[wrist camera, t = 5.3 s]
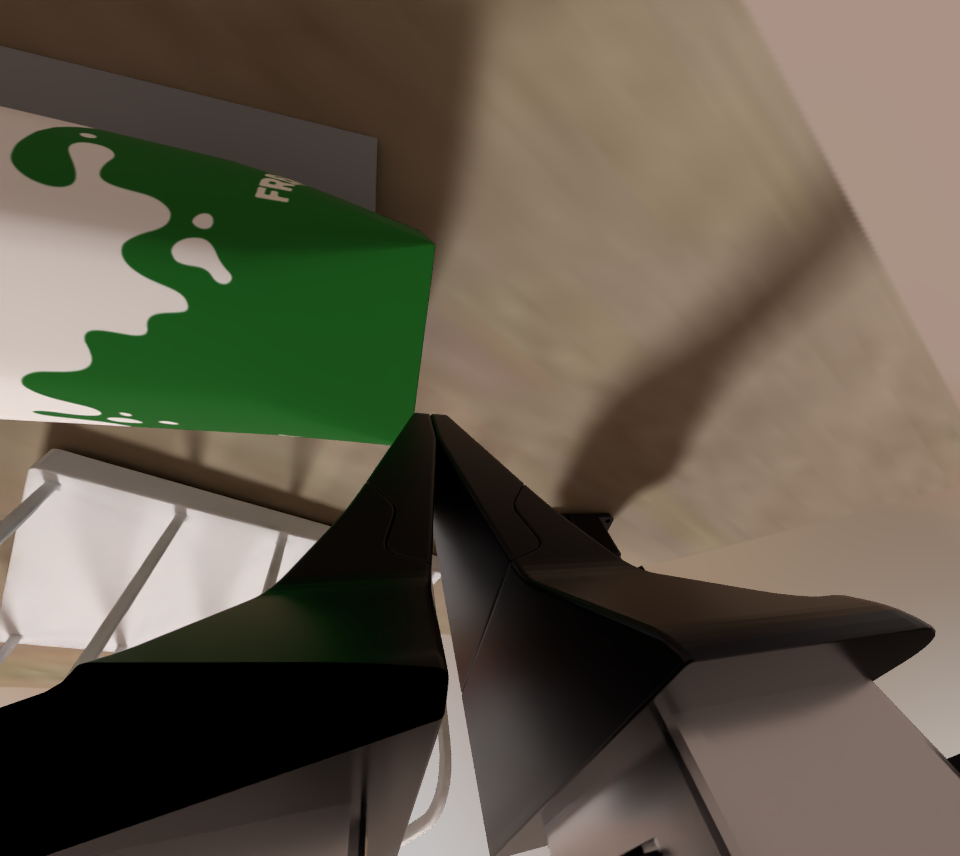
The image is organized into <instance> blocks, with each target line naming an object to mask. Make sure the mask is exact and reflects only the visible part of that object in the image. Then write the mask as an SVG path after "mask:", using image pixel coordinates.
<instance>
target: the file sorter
mask: <svg viewBox="0 0 960 856" xmlns="http://www.w3.org/2000/svg"><path fill="white" fill-rule="evenodd" d="M330 527H331V526H328V525H324V524H321V523H317V522H314V521H310V520H307V519H303V518H300V517H296V516H292V515H289V514H285V513H282V512H278V511H275V510H271V509H268V508H264V507H260V506H257V505H253V504H250V503H246V502H243V501H239V500H236V499H232V498H229V497H225V496H222V495H218V494H215V493H211V492H207V491H204V490H200V489H197V488H193V487H190V486H186V485H183V484H179V483H176V482H172V481H169V480H165V479H162V478H158V477H155V476H151V475H148V474H144V473H141V472H137V471H134V470H130V469H127V468H123V467H120V466H116V465H112V464H109V463H105V462H102V461H99V460H95V459H91V458H88V457H84V456H81V455H78V454H74V453H71V452H68V451H64V450H60V449H51V450H50V451H49V452H47V453H46V454H45V455H44V456H43V457H42V458H41V459H39V460H38V461H37V462H36V463H35V464H34V465H32V466H31V467H30V468H29V469H28V473H27V478H26V482H25V487H24V492H23V497H22V502H21V504H20V505H19V506H18V507H17V508H15V509H14V510H13V511H12V512H11V513H10V514H9V515H8V516H7V517H6V518H4V519H3V520H2V521H1V522H0V545H1V544H2V543H3V542H4V541H6V540H7V539H8V538H9V537H10V536H11V535H12V534H13V533H14V532H15V531H16V532H15V538H14V543H13V548H12V553H11V558H10V563H9V567H8V572H7V577H6V583H5V588H4V593H3V598H2V604H1V609H0V642H5V643H4V644H3V645H2V646H1V648H0V665H1V664H2V663H3V662H4V660H5V659H6V658H7V656H8V655H9V654H10V653H11V651H12V650H13V649H14V647H15V646H16V645H17V644H18V643H19V644H32V645H41V646H52V647H66V648H76V649H85V650H84V651H83V653H82V654H81V656H80V657H79V659H78V660H77V661H76V663H75V664H74V666H73V667H72V669H71V670H70V672H69V673H68V675H69V674H70V673H71V672H72V670H73V669H74V668H75V667H76V666H77V665H79V664H82V663H85V662H88V661H92V660H95V659H98V657H99V656H100V654H101V653H102V651H110V652H114V653H113V654H115V653H117V652H120V651H123V650H126V649H129V648H131V647H134V646H137V645H139V644H142V643H144V642H147V641H149V640H152V639H154V638H157V637H159V636H162V635H164V634H166V633H169V632H171V631H174V630H176V629H179V628H181V627H184V626H186V625H189V624H191V623H194V622H196V621H199V620H201V619H204V618H206V617H209V616H211V615H214V614H216V613H219V612H221V611H224V610H226V609H229V608H231V607H234V606H236V605H239V604H241V603H243V602H246V601H248V600H251V599H253V598H255V597H257V596H259V595H260V594H262V593H264V592H265V591H267V590H268V589H269V588H271V587H272V586H273V585H274V584H276V583H277V582H278V581H279V580H280V579H281V578H282V577H283V576H284V575H285V574H286V573H287V572H288V571H289V570H290V569H291V568H292V567H293V566H294V565H295V564H296V563H297V562H298V561H299V560H300V559H301V558H302V557H303V556H304V555H305V553H306V552H307V551H308V550H309V549H310V548H311V547H312V546H313V545H314V544H315V543H316V542H317V541H318V540H319V539H320V538H321V537H322V535H323V534H324V533H325V532H326V531H327V530H328V529H329V528H330ZM431 568H432V576H431V584H432V595H433V600H434V605H435V598H434V589H433V585H434V584H435V583H436V582H437V581H438V579H439V578H440V577H441V573H440V568H439V562H438V556H435V555H432V567H431ZM435 610H436V607H435ZM68 675H67V676H68ZM67 676H66V677H67ZM438 738H439V751H440V763H439V764H440V765H439V776H438V783H437V788H436V792H435V795H434V798H433V801H432V803H431V805H430V807H429V809H428V810H427V812H426V813H425V814H424V815H423V816H421V817H420V818H418V819H417V820H415V821H414V822H412V823H411V824H409V825H408V826H407V828H406V831H405V834H404V837H403V840H402V843H401V846H400V847H402V846H404V845H405V844H407V843H408V842H410V841H412V840H413V839H415V838H417V837H418V836H420V835H421V834H423V833H424V832H425V831H427V830H429V829H430V828H431V827H433V825H434V824H435V823H436V822H437V820H438V819H439V817H440V815H441V813H442V811H443V808H444V806H445V803H446V799H447V795H448V791H449V785H450V777H451V746H450V735H449V725H448V715H447V707H446V708H445V714H444V717H443V720H442V723H441V726H440V729H439V732H438Z"/></svg>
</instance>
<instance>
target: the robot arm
mask: <svg viewBox="0 0 960 856" xmlns="http://www.w3.org/2000/svg"><path fill="white" fill-rule="evenodd" d="M523 485H524V484H523V482H521V481H520V480H519V479H518V478H517V477H516V476H515V475H514V474H512V473H511V472H510V471H509V470H508V469H507V468H506V467H505V466H503V465H502V464H501V463H500V462H499V461H498V460H497V459H496V458H494V457H493V456H492V455H491V454H490V453H489V452H488V451H487V450H485V449H484V448H483V447H482V446H481V445H480V444H479V443H478V442H476V441H475V440H474V439H473V438H472V437H471V436H470V435H469V434H467V433H466V432H465V431H464V430H463V429H462V428H461V427H460V426H458V425H457V424H456V423H455V422H454V421H453V420H452V419H451V418H449V417H448V416H447V415H440V414H432V415H431V416H430V415H429V414H424V413H414V414H413V415H412V416H411V417H410V419H409V420H408V422H407V423H406V425H405V426H404V428H403V429H402V431H401V432H400V433H399V435H398V436H397V438H396V439H395V441H394V442H393V444H392V445H391V447H390V448H389V449H388V451H387V452H386V454H385V455H384V457H383V458H382V460H381V461H380V463H379V464H378V466H377V467H376V468H375V470H374V471H373V473H372V474H371V476H370V477H369V479H368V480H367V482H366V484H364V486H363V487H362V489H361V490H360V491H359V493H358V494H357V496H356V497H355V498H354V500H353V501H352V502H351V504H350V505H349V506H348V508H347V509H346V510H345V511H344V512H343V514H342V515H341V516H340V517H339V518H338V519H337V520H336V521H335V523H334V524H333V525H332V526H331V527H330V528H329V529H328V530H327V531H326V532H325V533H324V534H323V535H322V537H321V538H320V539H319V540H318V541H317V542H316V543H315V544H314V545H313V546H312V547H311V548H310V549H309V550H308V551H307V552H306V553H305V555H304V556H303V557H302V558H301V559H300V560H299V561H298V562H297V563H296V564H295V565H294V566H293V567H292V568H291V569H290V570H289V571H288V572H287V573H286V574H285V575H284V576H283V577H282V578H281V579H280V580H279V581H278V582H277V583H276V584H274V585H273V586H272V587H271V588H269V589H268V590H267V591H265V592H264V593H262V594H260V595H259V596H257V597H255V598H253V599H251V600H248V601H246V602H243V603H241V604H239V605H236V606H234V607H231V608H229V609H226V610H224V611H221V612H219V613H216V614H214V615H211V616H209V617H206V618H204V619H201V620H199V621H196V622H194V623H191V624H189V625H186V626H184V627H181V628H179V629H176V630H174V631H171V632H169V633H166V634H164V635H162V636H159V637H157V638H154V639H152V640H149V641H147V642H144V643H142V644H139V645H137V646H134V647H131V648H129V649H126V650H123V651H120V652H117V653H115V654H112V655H109V656H105V657H102V658H98V659H95V660H92V661H88V662H85V663H82V664H79V665H77V666H76V667H75V668H74V669H73V670H72V672H71V673H70V674H69V675H68V676H67V677H66V678H65V679H64V681H63V682H61V683H60V684H58V685H56V686H55V687H53V688H51V689H50V690H48V691H46V692H44V693H41V694H39V695H36V696H33V697H30V698H27V699H24V700H21V701H18V702H15V703H12V704H10V705H7V706H4V707H1V708H0V856H397V855H398V852H399V849H400V846H401V843H402V840H403V837H404V834H405V831H406V828H407V825H408V822H409V819H410V816H411V813H412V810H413V807H414V804H415V801H416V798H417V795H418V792H419V789H420V786H421V783H422V780H423V777H424V774H425V770H426V767H427V765H428V762H429V759H430V756H431V753H432V750H433V747H434V744H435V741H436V738H437V735H438V732H439V729H440V726H441V723H442V720H443V717H444V714H445V708H446V699H447V690H448V680H449V679H448V669H447V664H446V659H445V654H444V649H443V644H442V639H441V634H440V629H439V625H438V620H437V615H436V610H435V605H434V600H433V595H432V584H431V576H432V568H431V567H432V549H433V533H434V539H435V545H436V550H437V556H438V562H439V568H440V573H441V579H442V585H443V590H444V596H445V602H446V608H447V613H448V619H449V625H450V630H451V636H452V641H453V647H454V653H455V659H456V664H457V670H458V676H459V682H460V687H461V692H462V700H463V705H464V711H465V717H466V723H467V728H468V734H469V740H470V745H471V751H472V757H473V762H474V768H475V774H476V779H477V785H478V791H479V797H480V802H481V808H482V814H483V820H484V825H485V831H486V836H487V842H488V848H489V853H490V856H510V855H513V854H517V853H521V852H525V851H528V850H532V849H536V848H539V847H543V846H546V845H548V847H549V851H550V856H960V754H958V755H956V756H953V757H951V758H948V759H946V758H945V757H944V756H943V755H942V754H941V753H940V752H939V751H938V749H937V748H935V746H934V745H932V743H931V742H930V741H929V740H928V739H927V738H926V737H925V736H924V735H923V734H922V733H921V732H920V731H919V730H918V728H917V727H916V726H915V725H914V724H913V723H912V722H911V721H910V720H909V719H908V718H907V717H906V716H905V715H904V714H903V713H902V712H901V711H900V710H899V709H898V708H897V706H896V705H895V704H894V703H893V702H892V701H891V700H890V699H889V698H888V697H887V696H886V695H885V694H884V693H883V692H882V691H881V690H880V689H879V687H878V686H876V684H875V683H874V682H873V681H874V680H875V679H877V678H879V677H880V676H882V675H883V674H885V673H887V672H888V671H890V670H892V669H893V668H895V667H897V666H898V665H900V664H901V663H903V662H905V661H906V660H908V659H909V658H911V657H912V656H914V655H915V654H917V653H918V652H919V651H920V650H922V649H923V648H925V647H926V646H927V645H928V644H929V643H930V642H931V641H932V639H933V638H934V637H935V629H934V628H933V627H932V626H931V625H929V624H927V623H926V622H924V621H922V620H920V619H918V618H917V617H914V616H912V615H910V614H908V613H906V612H903V611H901V610H899V609H896V608H893V607H891V606H887V605H884V604H881V603H877V602H873V601H868V600H864V599H860V598H854V597H850V596H844V595H830V596H820V597H808V596H794V595H786V594H777V593H769V592H763V591H757V590H751V589H745V588H739V587H733V586H727V585H722V584H715V583H709V582H703V581H698V580H692V579H686V578H680V577H674V576H668V575H662V574H656V573H652V572H648V571H645V569H644V568H643V567H642V566H640V567H638V568H637V567H635V566H633V565H631V564H629V563H627V562H625V561H623V560H622V559H621V557H620V556H621V553H620V551H619V550H618V548H617V546H616V545H615V543H614V541H613V540H612V538H611V536H610V535H609V533H608V529H609V527H610V526H611V524H612V522H613V517H612V516H611V514H560V513H558V512H557V511H556V510H554V509H553V508H552V507H550V506H549V505H548V504H547V503H546V502H545V501H543V500H542V499H541V498H540V497H539V496H537V495H536V494H535V493H534V492H533V491H532V490H531V489H529V488H528V487H527V486H526V485H524V486H523Z"/></svg>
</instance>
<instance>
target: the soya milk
mask: <svg viewBox="0 0 960 856" xmlns="http://www.w3.org/2000/svg"><path fill="white" fill-rule="evenodd" d="M434 253H435V244H434V243H433V242H432V241H431V240H429V239H428V238H427V237H426V236H425V235H424V234H423V233H422V232H420V231H419V230H417V229H415V228H412V227H410V226H407V225H405V224H402V223H400V222H397V221H395V220H392V219H390V218H387V217H385V216H382V215H380V214H377V213H375V212H372V211H370V210H367V209H365V208H362V207H360V206H358V205H355V204H353V203H350V202H348V201H345V200H343V199H340V198H338V197H335V196H333V195H330V194H328V193H325V192H323V191H320V190H318V189H315V188H312V187H310V186H307V185H305V184H302V183H299V182H297V181H294V180H291V179H287V178H284V177H281V176H277V175H274V174H271V173H268V172H265V171H261V170H258V169H255V168H252V167H249V166H246V165H243V164H240V163H237V162H234V161H231V160H227V159H223V158H218V157H214V156H210V155H206V154H202V153H197V152H193V151H189V150H185V149H180V148H176V147H172V146H168V145H164V144H159V143H155V142H151V141H147V140H142V139H138V138H134V137H130V136H125V135H121V134H117V133H113V132H109V131H104V130H100V129H96V128H92V127H87V126H83V125H79V124H75V123H70V122H66V121H62V120H58V119H53V118H49V117H45V116H41V115H36V114H32V113H28V112H24V111H19V110H15V109H11V108H6V107H2V106H0V419H7V420H25V421H43V422H61V423H79V424H96V425H114V426H132V427H149V428H166V429H184V430H201V431H219V432H236V433H253V434H270V435H283V436H295V437H306V438H317V439H329V440H340V441H352V442H363V443H373V444H384V445H392V444H393V442H394V441H395V439H396V438H397V436H398V435H399V433H400V432H401V431H402V429H403V428H404V426H405V425H406V423H407V422H408V420H409V419H410V417H411V416H412V415H413V414H414V411H415V403H416V395H417V387H418V380H419V372H420V364H421V356H422V348H423V340H424V332H425V325H426V317H427V309H428V301H429V293H430V285H431V277H432V269H433V261H434Z"/></svg>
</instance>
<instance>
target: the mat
mask: <svg viewBox="0 0 960 856" xmlns="http://www.w3.org/2000/svg"><path fill="white" fill-rule="evenodd" d="M0 106H2V107H6V108H11V109H15V110H19V111H24V112H28V113H32V114H36V115H41V116H45V117H49V118H53V119H58V120H62V121H66V122H70V123H75V124H79V125H83V126H87V127H92V128H96V129H100V130H104V131H109V132H113V133H117V134H121V135H125V136H130V137H134V138H138V139H142V140H147V141H151V142H155V143H159V144H164V145H168V146H172V147H176V148H180V149H185V150H189V151H193V152H197V153H202V154H206V155H210V156H214V157H218V158H223V159H227V160H231V161H234V162H237V163H240V164H243V165H246V166H249V167H252V168H255V169H258V170H261V171H265V172H268V173H271V174H274V175H277V176H281V177H284V178H287V179H291V180H294V181H297V182H299V183H302V184H305V185H307V186H310V187H312V188H315V189H318V190H320V191H323V192H325V193H328V194H330V195H333V196H335V197H338V198H340V199H343V200H345V201H348V202H350V203H353V204H355V205H358V206H360V207H362V208H365V209H367V210H370V211H372V212H375V213H376V177H377V142H378V139H377V138H375V137H371V136H367V135H363V134H359V133H355V132H351V131H347V130H342V129H338V128H334V127H330V126H326V125H322V124H318V123H314V122H310V121H306V120H302V119H298V118H294V117H289V116H285V115H281V114H277V113H273V112H269V111H265V110H261V109H257V108H253V107H249V106H245V105H241V104H236V103H232V102H228V101H224V100H220V99H216V98H212V97H208V96H204V95H200V94H196V93H192V92H187V91H183V90H179V89H175V88H171V87H167V86H163V85H159V84H155V83H151V82H147V81H143V80H139V79H134V78H130V77H126V76H122V75H118V74H114V73H110V72H106V71H102V70H98V69H94V68H90V67H86V66H81V65H77V64H73V63H69V62H65V61H61V60H57V59H53V58H49V57H45V56H41V55H37V54H33V53H28V52H24V51H20V50H16V49H12V48H8V47H4V46H0Z"/></svg>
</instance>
